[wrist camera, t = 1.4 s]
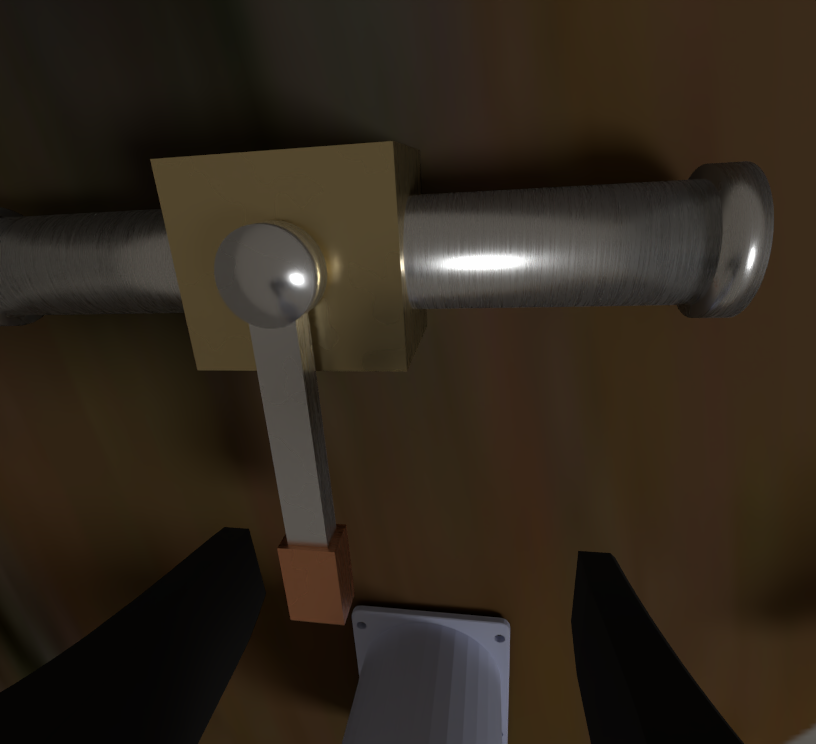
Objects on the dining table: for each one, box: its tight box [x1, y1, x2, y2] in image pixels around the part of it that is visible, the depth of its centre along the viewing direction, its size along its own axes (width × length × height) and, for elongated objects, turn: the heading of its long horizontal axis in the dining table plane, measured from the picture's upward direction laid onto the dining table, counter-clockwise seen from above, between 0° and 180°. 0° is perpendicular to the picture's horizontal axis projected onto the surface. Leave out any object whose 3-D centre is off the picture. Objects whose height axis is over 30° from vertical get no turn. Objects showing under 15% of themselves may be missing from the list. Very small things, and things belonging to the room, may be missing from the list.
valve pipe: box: [0, 141, 774, 371], centre depth 17 cm, size 6×26×5 cm, turn 94°
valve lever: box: [214, 220, 355, 625], centre depth 16 cm, size 14×3×1 cm, turn 3°
